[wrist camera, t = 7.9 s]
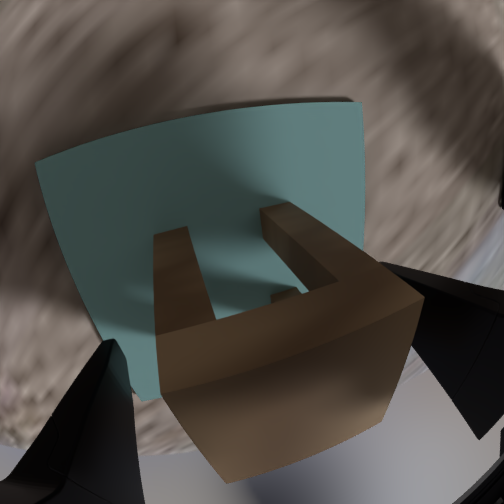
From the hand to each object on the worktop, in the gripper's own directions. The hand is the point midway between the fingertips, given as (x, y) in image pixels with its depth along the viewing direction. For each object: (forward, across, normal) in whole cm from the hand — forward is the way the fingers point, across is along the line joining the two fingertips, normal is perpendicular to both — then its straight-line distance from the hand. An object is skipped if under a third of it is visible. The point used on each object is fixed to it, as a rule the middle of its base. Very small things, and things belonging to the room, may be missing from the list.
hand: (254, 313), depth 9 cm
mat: (+3, 0, 0) cm, 3 cm away
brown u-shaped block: (+2, 0, 0) cm, 3 cm away
